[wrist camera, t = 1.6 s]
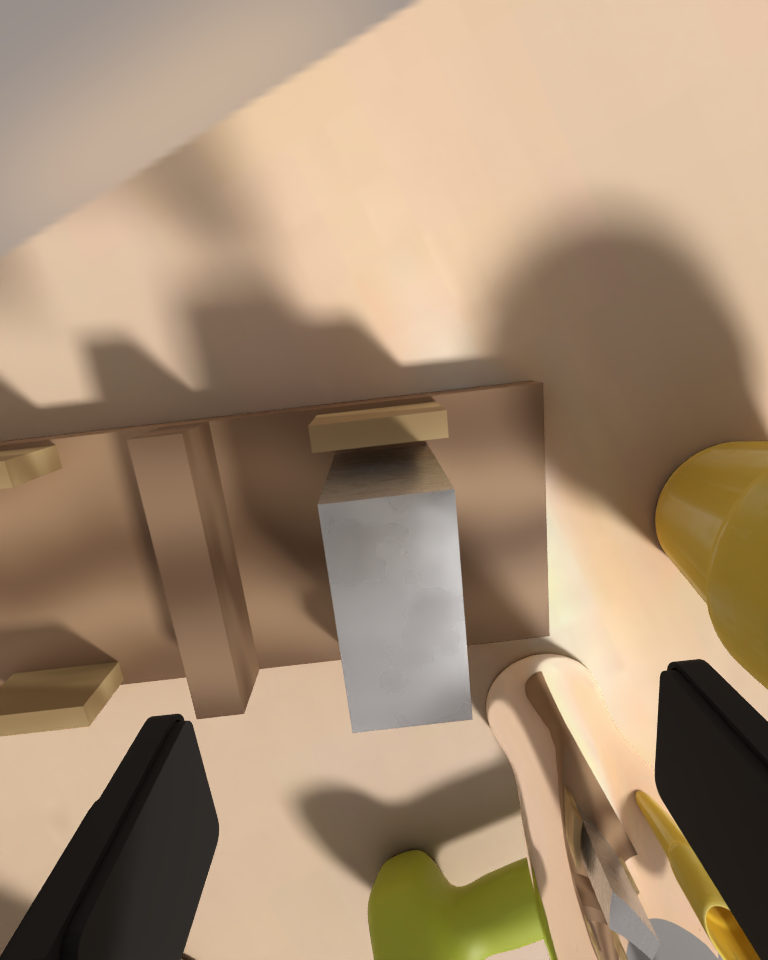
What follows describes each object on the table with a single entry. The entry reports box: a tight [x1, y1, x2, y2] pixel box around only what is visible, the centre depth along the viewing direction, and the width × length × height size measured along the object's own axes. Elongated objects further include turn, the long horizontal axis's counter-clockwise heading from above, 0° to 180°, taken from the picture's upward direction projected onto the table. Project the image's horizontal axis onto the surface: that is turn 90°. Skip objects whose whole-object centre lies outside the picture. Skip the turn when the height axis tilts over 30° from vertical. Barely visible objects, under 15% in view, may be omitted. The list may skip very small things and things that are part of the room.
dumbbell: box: [368, 850, 544, 960], centre depth 25 cm, size 16×8×7 cm, turn 117°
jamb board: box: [0, 381, 549, 736], centre depth 21 cm, size 12×30×4 cm, turn 96°
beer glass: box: [486, 654, 761, 960], centre depth 19 cm, size 7×7×15 cm
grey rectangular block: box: [318, 444, 472, 733], centre depth 19 cm, size 8×4×7 cm, turn 6°
